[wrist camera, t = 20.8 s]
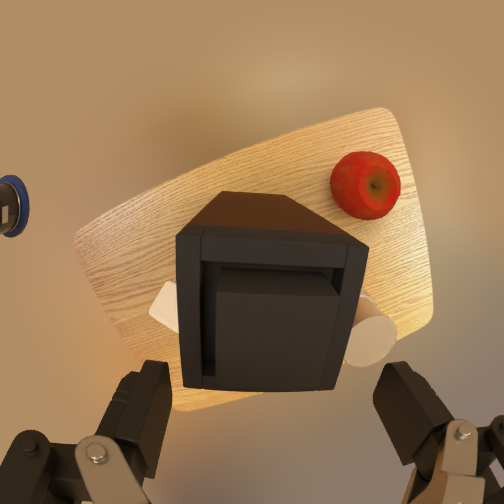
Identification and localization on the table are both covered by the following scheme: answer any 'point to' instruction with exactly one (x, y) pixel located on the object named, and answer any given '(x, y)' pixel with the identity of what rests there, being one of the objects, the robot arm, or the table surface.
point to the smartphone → (166, 306)
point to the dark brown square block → (272, 327)
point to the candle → (369, 334)
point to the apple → (365, 185)
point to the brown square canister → (259, 257)
